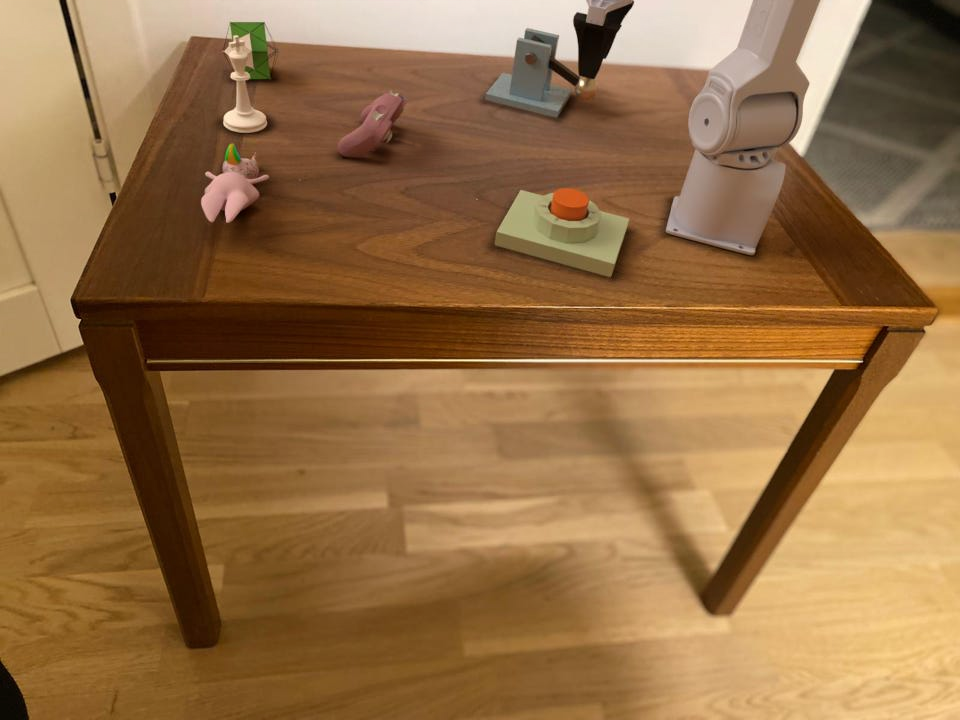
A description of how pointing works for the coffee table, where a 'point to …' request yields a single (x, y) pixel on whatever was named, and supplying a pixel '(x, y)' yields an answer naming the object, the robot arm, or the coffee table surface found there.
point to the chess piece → (242, 96)
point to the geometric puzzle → (253, 48)
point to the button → (569, 204)
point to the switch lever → (572, 77)
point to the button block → (562, 234)
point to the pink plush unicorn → (232, 186)
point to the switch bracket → (531, 77)
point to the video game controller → (373, 125)
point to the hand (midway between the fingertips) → (592, 66)
